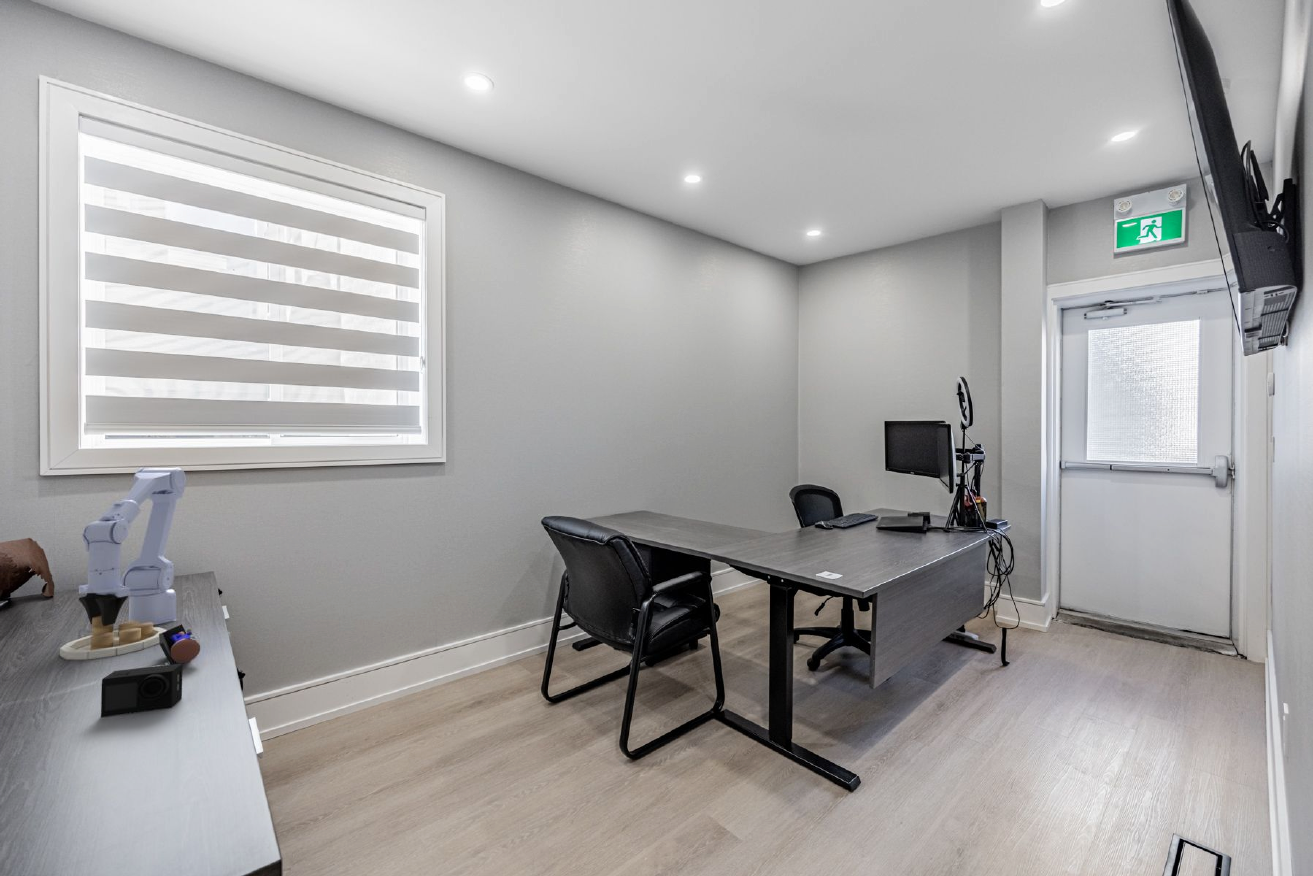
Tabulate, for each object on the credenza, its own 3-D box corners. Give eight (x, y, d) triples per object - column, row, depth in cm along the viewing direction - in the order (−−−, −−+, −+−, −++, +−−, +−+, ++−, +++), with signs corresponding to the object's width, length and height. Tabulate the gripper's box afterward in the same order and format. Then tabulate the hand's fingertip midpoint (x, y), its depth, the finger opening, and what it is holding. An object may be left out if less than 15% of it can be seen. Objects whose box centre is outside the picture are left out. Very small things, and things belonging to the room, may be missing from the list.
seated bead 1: (109, 648, 131) (110, 631, 131) (115, 651, 129) (116, 634, 129) (87, 653, 128) (88, 636, 128) (93, 656, 126) (94, 638, 126)
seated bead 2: (137, 643, 134) (137, 627, 135) (143, 646, 133) (143, 629, 133) (116, 648, 131) (116, 631, 131) (122, 650, 129) (122, 634, 129)
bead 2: (140, 638, 138) (141, 622, 138) (120, 642, 135) (120, 626, 135) (136, 635, 140) (137, 619, 140) (116, 639, 137) (116, 623, 137)
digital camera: (95, 721, 97) (96, 681, 97) (112, 707, 102) (114, 670, 102) (168, 711, 100) (169, 672, 101) (181, 698, 105) (182, 662, 106)
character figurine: (196, 651, 132) (198, 670, 121) (155, 656, 127) (154, 676, 116) (200, 618, 132) (202, 634, 121) (160, 622, 127) (159, 639, 116)
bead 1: (110, 629, 137) (111, 613, 137) (115, 632, 135) (116, 615, 135) (89, 633, 134) (90, 617, 134) (94, 636, 132) (95, 619, 132)
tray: (148, 631, 145) (149, 623, 145) (177, 643, 136) (177, 634, 137) (50, 652, 130) (50, 643, 130) (76, 667, 121) (76, 657, 121)
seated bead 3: (149, 637, 139) (149, 621, 139) (155, 639, 137) (155, 623, 137) (129, 641, 136) (129, 625, 136) (135, 644, 134) (135, 628, 134)
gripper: (63, 570, 133) (61, 626, 132) (105, 573, 129) (103, 631, 129) (99, 565, 140) (97, 618, 139) (140, 568, 136) (138, 622, 136)
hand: (102, 624), depth 134 cm, fingers closed on bead 1, 4 cm apart
